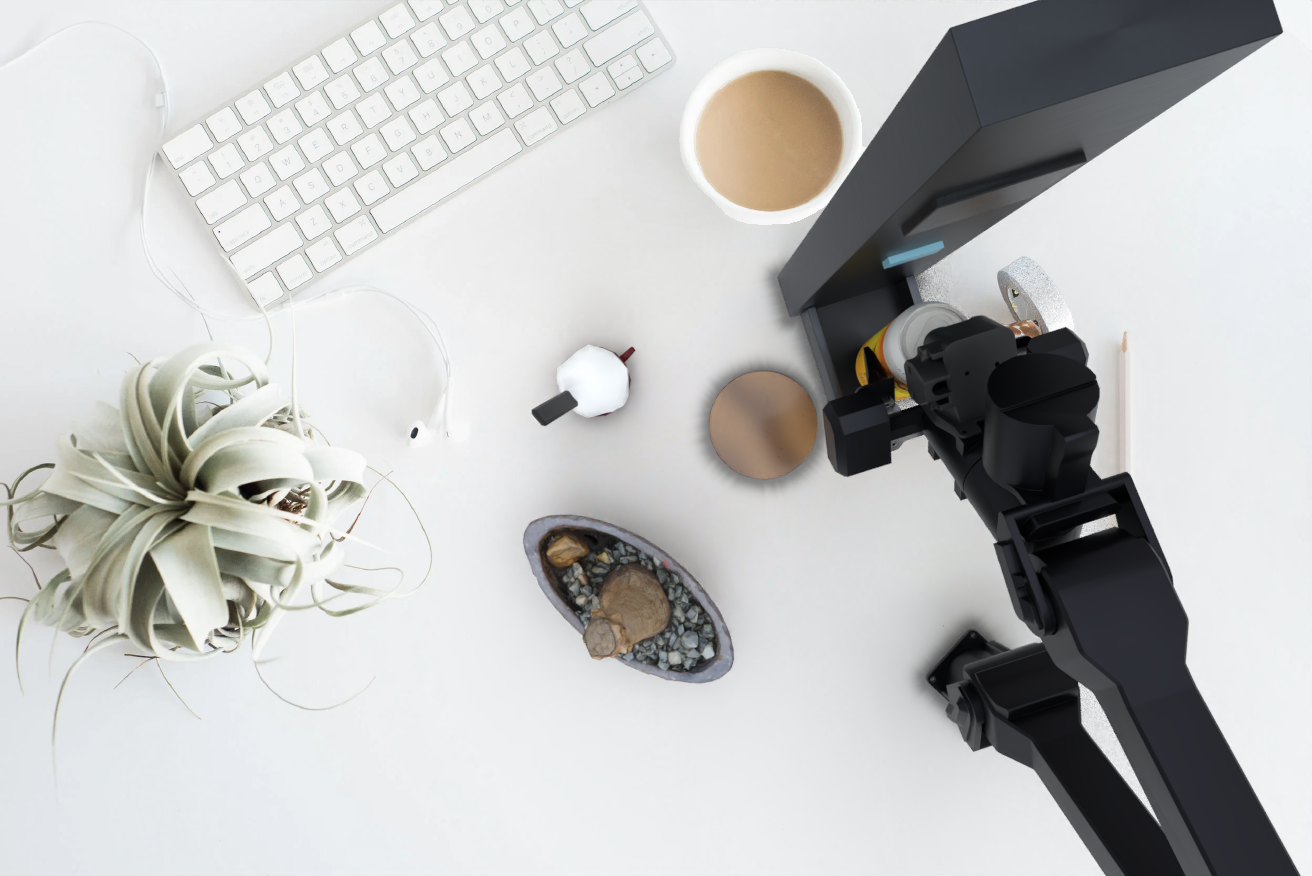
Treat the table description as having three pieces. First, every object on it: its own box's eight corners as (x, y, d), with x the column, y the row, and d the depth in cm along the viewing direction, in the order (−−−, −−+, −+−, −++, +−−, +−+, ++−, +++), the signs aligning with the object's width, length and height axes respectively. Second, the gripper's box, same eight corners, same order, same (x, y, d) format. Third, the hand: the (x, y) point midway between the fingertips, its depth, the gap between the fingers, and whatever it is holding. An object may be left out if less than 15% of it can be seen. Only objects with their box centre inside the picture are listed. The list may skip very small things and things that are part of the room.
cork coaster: (766, 501, 77) (766, 501, 77) (686, 428, 77) (687, 428, 77) (838, 421, 77) (839, 421, 77) (759, 349, 77) (760, 348, 77)
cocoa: (631, 338, 77) (626, 318, 65) (652, 402, 77) (651, 393, 65) (534, 371, 77) (511, 357, 65) (556, 434, 77) (537, 432, 65)
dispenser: (943, 376, 77) (1362, 271, 31) (820, 415, 77) (1058, 367, 31) (899, 238, 77) (1252, -68, 31) (776, 276, 77) (949, 27, 31)
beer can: (846, 391, 74) (883, 370, 59) (864, 326, 74) (906, 288, 59) (913, 409, 73) (968, 393, 58) (931, 343, 73) (990, 310, 58)
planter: (536, 509, 77) (493, 531, 57) (716, 496, 77) (736, 514, 57) (548, 669, 77) (509, 747, 57) (728, 656, 77) (752, 729, 57)
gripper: (1163, 335, 49) (1024, 214, 61) (863, 429, 49) (780, 291, 61) (1130, 462, 57) (1012, 333, 68) (871, 543, 57) (796, 401, 68)
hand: (904, 338), depth 66 cm, fingers closed on beer can, 6 cm apart
